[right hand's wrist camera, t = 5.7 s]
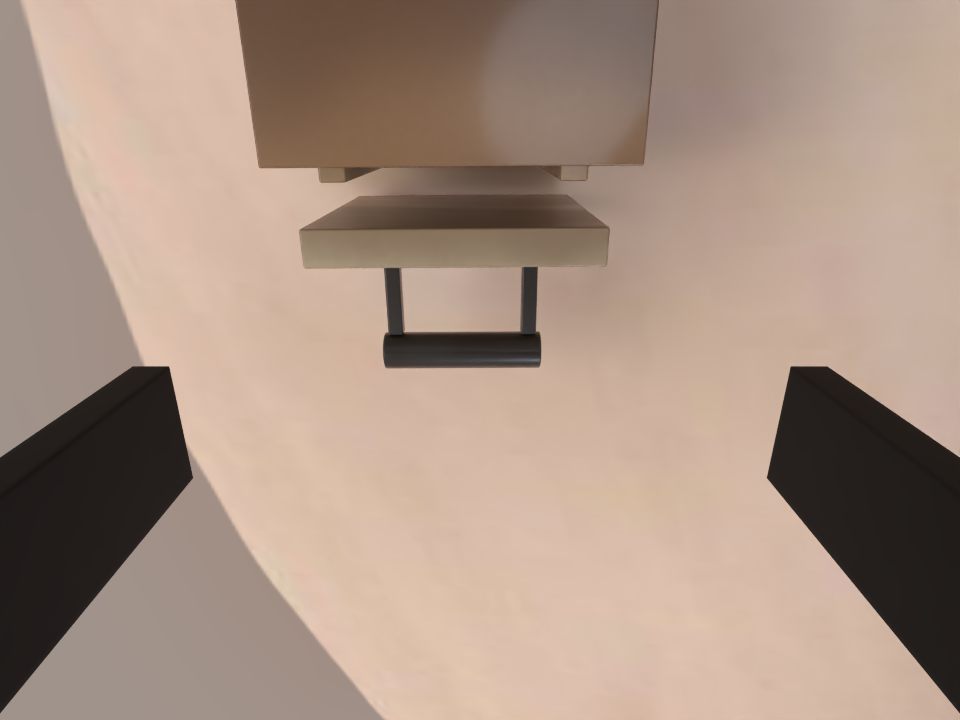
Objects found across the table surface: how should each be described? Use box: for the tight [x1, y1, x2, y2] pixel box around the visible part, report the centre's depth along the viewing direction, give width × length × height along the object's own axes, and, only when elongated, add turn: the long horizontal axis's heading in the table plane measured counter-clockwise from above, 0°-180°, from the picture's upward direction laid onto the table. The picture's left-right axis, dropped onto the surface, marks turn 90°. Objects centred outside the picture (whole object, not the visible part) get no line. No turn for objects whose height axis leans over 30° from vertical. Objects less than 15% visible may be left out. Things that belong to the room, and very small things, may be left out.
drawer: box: [299, 166, 610, 368], centre depth 20 cm, size 24×9×9 cm, turn 0°
